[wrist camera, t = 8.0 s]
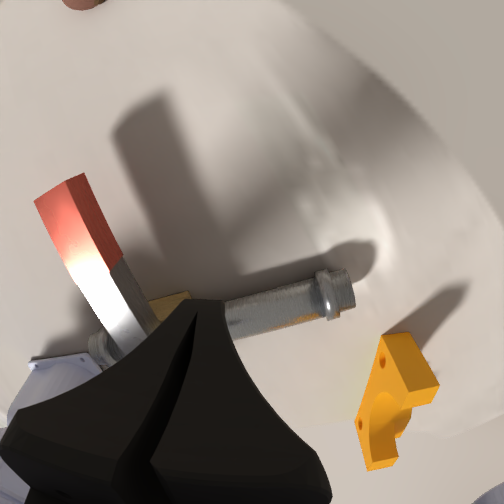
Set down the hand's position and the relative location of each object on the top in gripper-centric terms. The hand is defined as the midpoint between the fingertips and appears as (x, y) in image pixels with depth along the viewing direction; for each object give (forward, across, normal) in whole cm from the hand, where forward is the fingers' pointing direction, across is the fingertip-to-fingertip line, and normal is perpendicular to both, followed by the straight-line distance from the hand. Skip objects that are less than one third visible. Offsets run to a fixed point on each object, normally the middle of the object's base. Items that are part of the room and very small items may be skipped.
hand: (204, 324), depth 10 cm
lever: (+6, +6, +3) cm, 9 cm away
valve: (+10, +1, +7) cm, 12 cm away
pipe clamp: (+10, -15, +14) cm, 23 cm away
